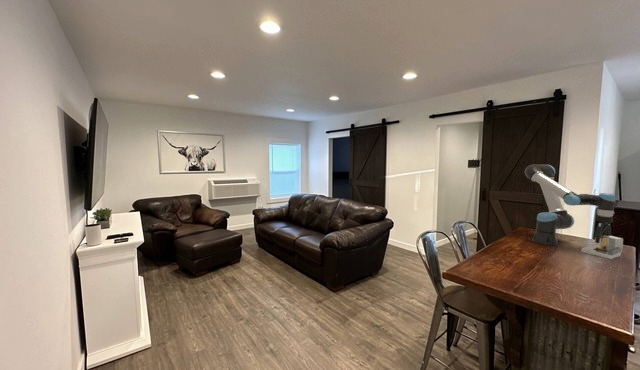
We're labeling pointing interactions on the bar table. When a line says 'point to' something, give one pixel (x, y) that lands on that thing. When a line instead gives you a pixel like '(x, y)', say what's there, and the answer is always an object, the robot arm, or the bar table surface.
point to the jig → (608, 254)
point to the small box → (615, 242)
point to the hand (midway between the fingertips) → (601, 246)
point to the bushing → (603, 244)
